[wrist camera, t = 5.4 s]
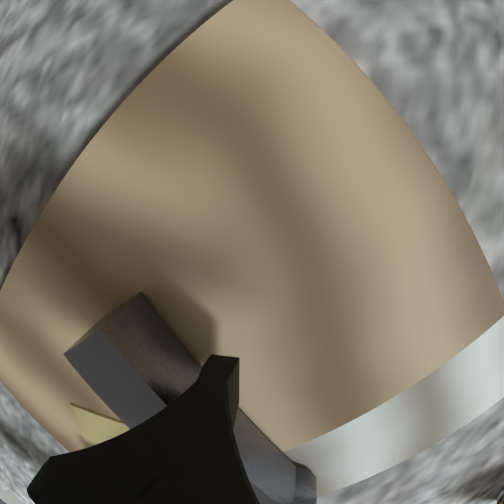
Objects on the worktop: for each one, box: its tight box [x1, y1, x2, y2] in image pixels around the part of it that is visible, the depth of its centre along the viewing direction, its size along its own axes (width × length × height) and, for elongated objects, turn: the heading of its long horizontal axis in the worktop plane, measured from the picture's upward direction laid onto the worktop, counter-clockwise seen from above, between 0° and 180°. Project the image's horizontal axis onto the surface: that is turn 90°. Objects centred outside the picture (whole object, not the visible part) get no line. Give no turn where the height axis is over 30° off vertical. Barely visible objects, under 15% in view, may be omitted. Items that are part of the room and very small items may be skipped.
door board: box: [0, 0, 504, 497], centre depth 12 cm, size 26×20×4 cm
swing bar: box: [63, 291, 317, 504], centre depth 11 cm, size 14×3×4 cm, turn 34°
